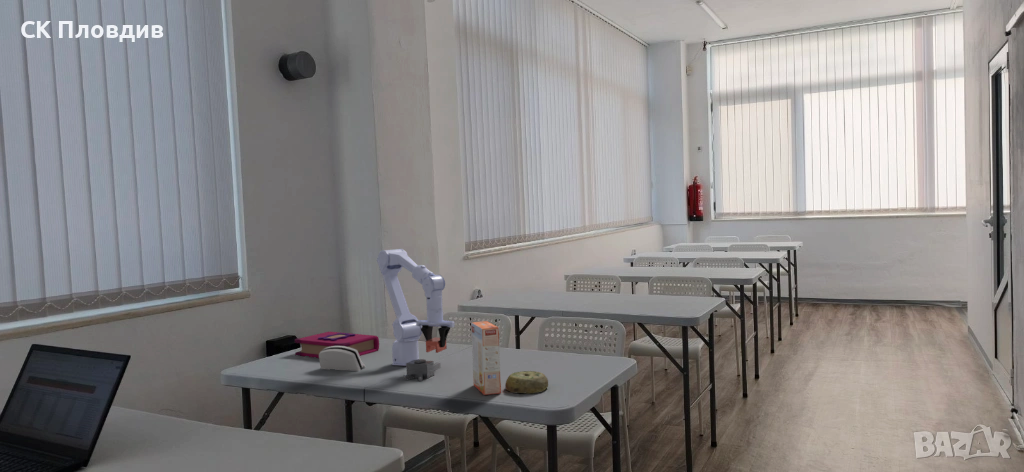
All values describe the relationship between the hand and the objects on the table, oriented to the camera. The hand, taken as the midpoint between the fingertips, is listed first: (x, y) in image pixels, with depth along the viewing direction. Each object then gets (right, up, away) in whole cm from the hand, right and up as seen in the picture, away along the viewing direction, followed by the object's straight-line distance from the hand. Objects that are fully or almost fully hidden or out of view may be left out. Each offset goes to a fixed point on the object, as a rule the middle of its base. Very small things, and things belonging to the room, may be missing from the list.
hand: (436, 346), depth 252 cm
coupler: (-3, -9, -6) cm, 11 cm away
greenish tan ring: (+32, -9, -31) cm, 46 cm away
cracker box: (+20, -9, -30) cm, 37 cm away
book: (-45, -9, +37) cm, 59 cm away
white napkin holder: (-36, -10, +7) cm, 38 cm away
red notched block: (0, -1, 0) cm, 1 cm away
